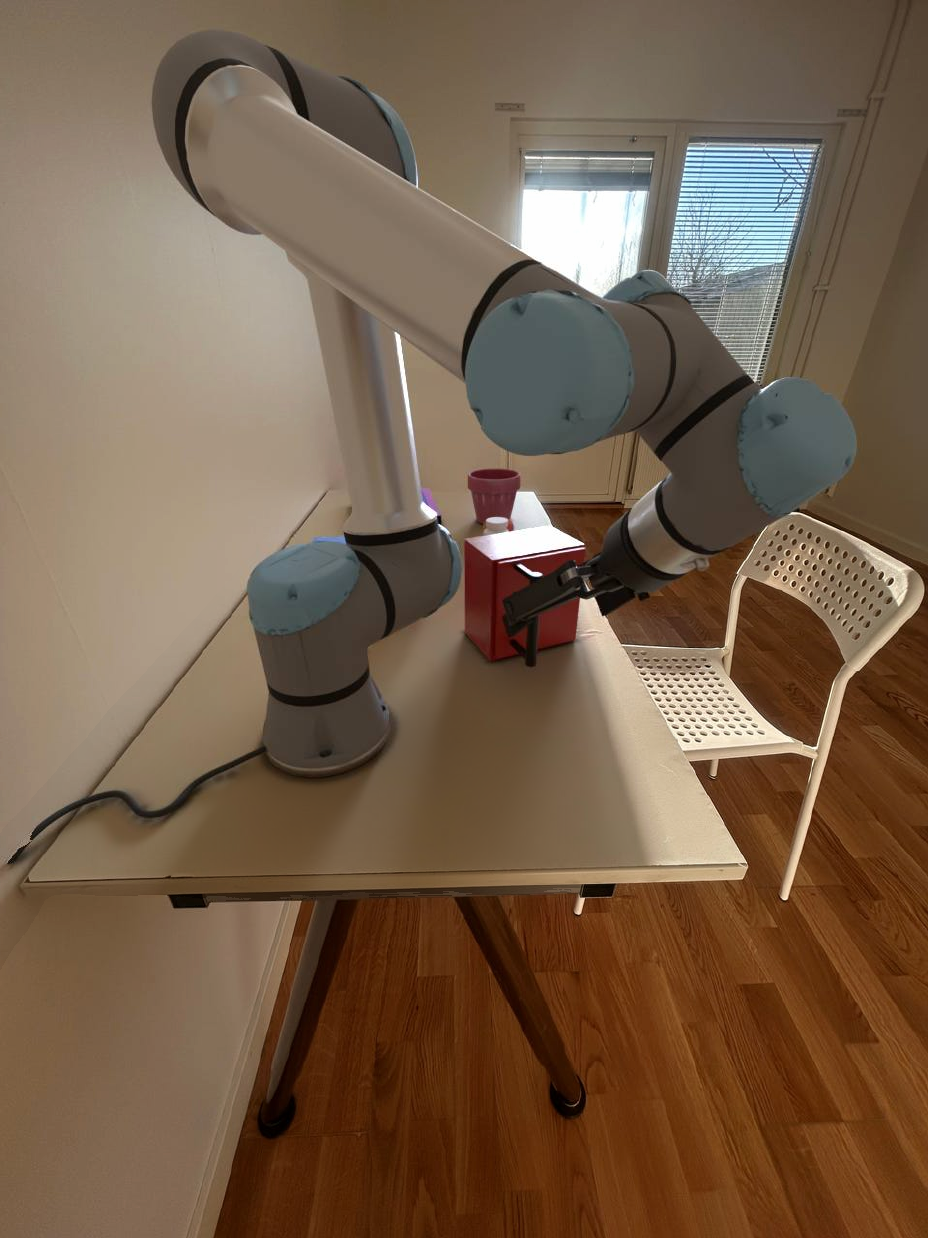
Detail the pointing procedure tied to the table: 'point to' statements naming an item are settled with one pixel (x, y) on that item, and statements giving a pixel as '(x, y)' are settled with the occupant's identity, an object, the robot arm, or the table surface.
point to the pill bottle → (496, 526)
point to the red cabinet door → (547, 625)
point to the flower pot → (493, 492)
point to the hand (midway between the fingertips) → (555, 616)
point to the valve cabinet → (483, 575)
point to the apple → (509, 527)
